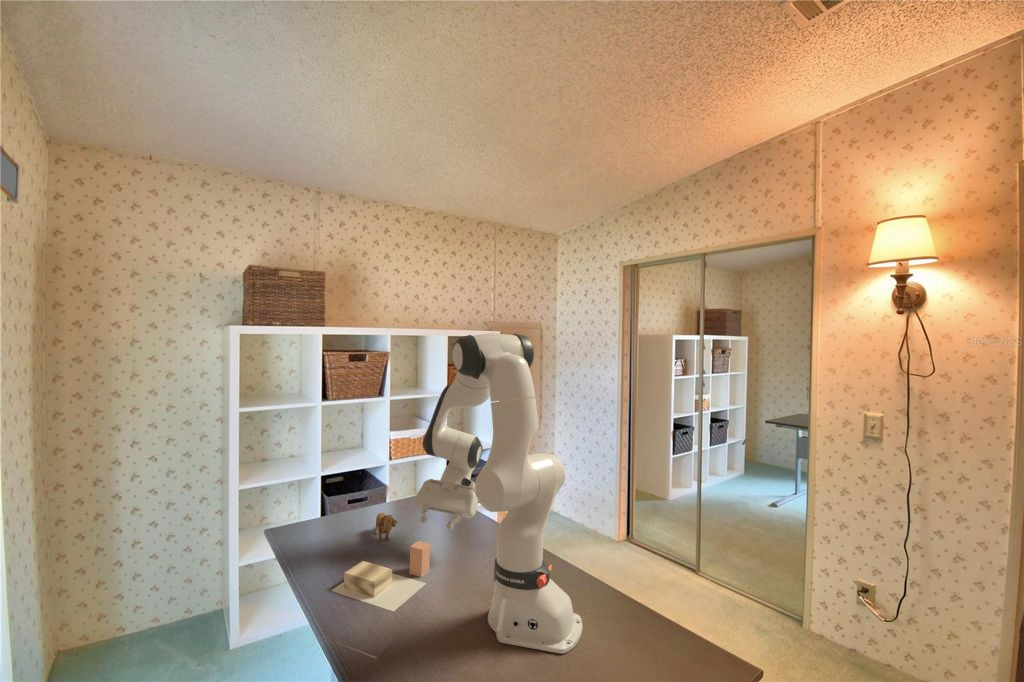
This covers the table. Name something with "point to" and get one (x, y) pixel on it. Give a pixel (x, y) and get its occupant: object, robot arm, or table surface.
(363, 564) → the plinth
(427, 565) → the pillar
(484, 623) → the table surface
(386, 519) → the lion figurine
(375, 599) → the mat
